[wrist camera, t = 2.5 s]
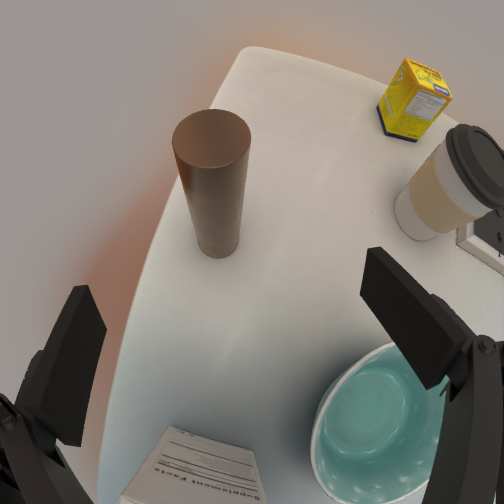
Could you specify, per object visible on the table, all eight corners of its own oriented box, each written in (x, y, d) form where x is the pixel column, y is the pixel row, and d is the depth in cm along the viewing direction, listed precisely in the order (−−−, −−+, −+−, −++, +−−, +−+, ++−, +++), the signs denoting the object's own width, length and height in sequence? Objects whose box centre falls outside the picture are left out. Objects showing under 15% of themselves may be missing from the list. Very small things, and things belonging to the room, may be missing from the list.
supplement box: (406, 115, 37) (438, 70, 27) (416, 143, 36) (454, 98, 25) (375, 106, 37) (404, 55, 26) (383, 135, 35) (419, 83, 25)
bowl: (259, 392, 25) (273, 415, 17) (387, 311, 28) (434, 300, 20) (327, 496, 22) (355, 534, 14) (435, 416, 25) (480, 427, 17)
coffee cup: (391, 246, 30) (480, 187, 16) (381, 178, 33) (447, 101, 19) (445, 252, 31) (530, 206, 17) (434, 189, 33) (502, 130, 19)
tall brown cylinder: (204, 263, 28) (180, 178, 13) (194, 227, 29) (165, 119, 14) (243, 251, 29) (262, 157, 13) (231, 215, 30) (237, 102, 14)
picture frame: (455, 140, 37) (456, 244, 31) (463, 131, 35) (469, 238, 29) (508, 183, 37) (514, 283, 31) (517, 176, 34) (526, 279, 28)
